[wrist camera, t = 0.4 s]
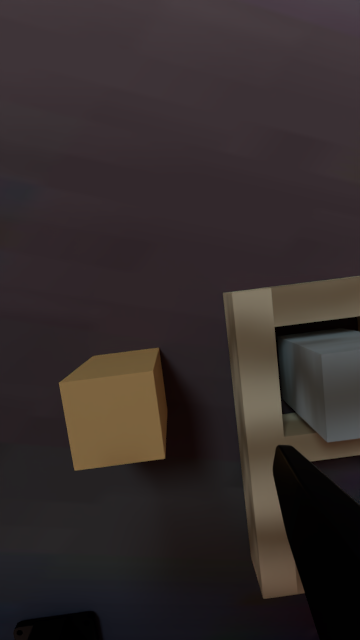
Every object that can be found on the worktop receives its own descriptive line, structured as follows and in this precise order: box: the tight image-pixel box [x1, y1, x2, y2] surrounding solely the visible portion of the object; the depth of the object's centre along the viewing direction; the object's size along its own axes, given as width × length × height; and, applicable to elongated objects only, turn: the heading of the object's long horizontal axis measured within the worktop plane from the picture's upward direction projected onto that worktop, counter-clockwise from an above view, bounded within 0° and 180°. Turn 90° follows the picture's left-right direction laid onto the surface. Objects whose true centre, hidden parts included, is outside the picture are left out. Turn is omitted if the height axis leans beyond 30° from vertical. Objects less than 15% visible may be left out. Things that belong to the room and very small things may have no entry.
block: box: [59, 348, 168, 471], centre depth 17 cm, size 5×5×6 cm
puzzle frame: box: [223, 276, 360, 599], centre depth 18 cm, size 22×12×6 cm, turn 7°
